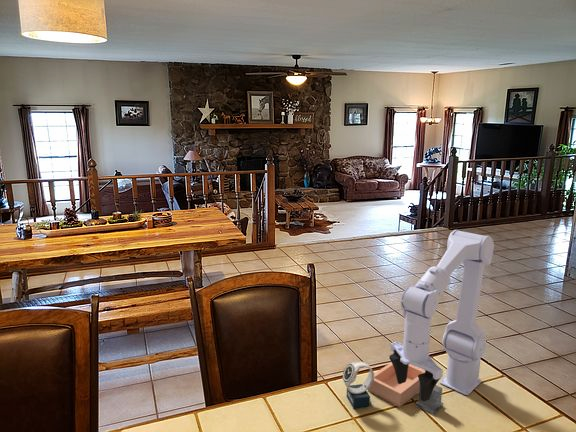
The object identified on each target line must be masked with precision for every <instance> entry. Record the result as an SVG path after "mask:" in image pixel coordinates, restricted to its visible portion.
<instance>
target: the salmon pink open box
mask: <svg viewBox="0 0 576 432" xmlns="http://www.w3.org/2000/svg"><path fill="white" fill-rule="evenodd" d="M422 373H425V370H424V369H421V368H419V367H416V366H413V365H411V364H409V366H408V372H407V379H406V382H404V383H402V384H398V382H397V377H396V373H395V369H394V366H393V364H392V362H391V361H390V362H389V363H388V364H386V365H385V366H384V367H382V368H381V369H379V370H377V371H376V372H375V373H374V381H373V383H372V385H371V386H370V388H369V389H368V390H367V392H369V393H371V394H372V395H375V396H377V397H379V398H381V399H382V400H384V401H387V402H388V403H390V404H392V405H394V406H396V407H398V408H401V407H402V406H403V405H405V404H406V403H408V402H409V401H410V400H411V399H412V398H414V397H415V396H416V395H417V394H419V386H420V381H419V378H418V375H419V374H422Z"/></svg>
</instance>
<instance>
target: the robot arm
mask: <svg viewBox="0 0 576 432" xmlns="http://www.w3.org/2000/svg"><path fill="white" fill-rule="evenodd" d="M494 248H495V243H494V239H492V237H491V235H483V234H478V233H474V232H473V233H472V232H467V231H461V230H459V229H454V230H452V231H451V232H450V233H449V235H448V238H447V244H446V250H445V253H444V254H443V255H442V257H441V258H440V260H439V262H438V263H437V265H436V266H434V265H433V266H430V267H429V268H428V269H427V270H426V272H425V273H424V274H423V275H422V276H421V277H420V279H419V280H418V281H417V283H416V284H415V285H414V286H410V287H407V288H405V290H404V291H403V293H402V296H401V299H400V307H401V310H402V316H403V318H404V330H403V331H404V333H403V343H401V342H399V341H394V342H391V343H390V351H391V352H393V353H392V354H390V355H389V361H390V363H391V362H392V364H393V366H394V369H395V373H396V377H397V382H398V384H402V383H404V382H406V379H407V372H408V366H409V364H411V365H413V366H415V367H417V368H420V369H422V370H424V371H425V373H422V374H419V375H418V378H419V381H420V386H421V400H422V401H423V402H424V401H426V400H429V399H430V396H431V393H432V391H433V389H434V387H435V385H437V384H438V382H439V383H440V385H443V386H445V387H446V388H447V387H448V388H449V389H451V390H454V391H456V392H458V393H460V394H461V395H465V396H468V395H470V394H471V393H472V392H473V391H474V390H475V389H476V388H477V387H478V386H479V385H480V384H481V383H482V382H483V380H482V379H481V378H480V377H479V376H480V368H481V367H480V366H481V358H482V357H483V355H484V353H485V350H486V332H485V331H484V330H483V329H482V328H481V327H480V326H479V325H478V323H477V318H478V317H477V316H478V309H479V303H480V298H481V297H480V296H481V291H482V284H483V277H484V271H485V267H486V266H491V264H492V260H493V254H494ZM461 264H463V271H462V279H461V285H460V292H459V300H458V306H457V311H456V312H457V313H456V319H455V320H451V321H449V322H448V323H447V325H446V326H445V331H444V333H443V335H442V341H441V343H442V346H443V348H444V349H445V353H446V354H447V355H448V356H447V366H446V376H445V377H444V378H443V374H444V373H443V372H444V370H443V368H442V367H440V366H439V365H438V364H436V362H435V361H434V360H433V359H432V357H431V356H430V342H431V341H430V340H431V328H432V326H431V325H432V317H433V316H434V315H435V314H436V311H437V308H438V306H439V303H440V301H441V298H440V297H441V295H442V294H443V293H444V292H445V291H446V289H447V288H448V287H449V285H450V284H451V275H452V274H453V272H455V270H457V269H458V267H459V266H461ZM442 378H443V379H442Z"/></svg>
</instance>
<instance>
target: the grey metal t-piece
mask: <svg viewBox="0 0 576 432" xmlns="http://www.w3.org/2000/svg"><path fill="white" fill-rule="evenodd" d="M442 396H443V387H441V386H439V385H437V384H436V385H435V387H434V389H433V391H432V393H431V396H430V399H429V400H426V401H424V402H423V401H422V400H421V386H419V392H418V399H417V401H416V402H415V407H416V408H418V409H420V410H423V411H424V412H426V413H428V414H430V415H431V416H435V414H437V412H439V411H440V410H441V409H442V408H443V407H444V402H442Z"/></svg>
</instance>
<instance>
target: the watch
mask: <svg viewBox="0 0 576 432" xmlns="http://www.w3.org/2000/svg"><path fill="white" fill-rule="evenodd" d="M361 368H367V369H369V371H368V375H367V377H366V379H365V380H364V382H363V384H362V383H359V384H353V383H354V382H355V381H356V380H357V376H358V372H359V371H360V369H361ZM374 374H375V373H374V371H373V369H372V367H371V366H370V364H369V363H367V362H365V361H354V362H351V363H348V364H347V365H346V366H345V367H344V370H343V372H342V381H343V383H344V385H345V387H346V398H347V400H348V402H349V404H350V406H351V408H352V409H353V410H358V409H365V408H366V409H367V408H370V404H371V403H370V402H371V395H370V394H369V393H368V392H369V391H368V389H369V388H370V386H371V385H372V383H373V381H374Z"/></svg>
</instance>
